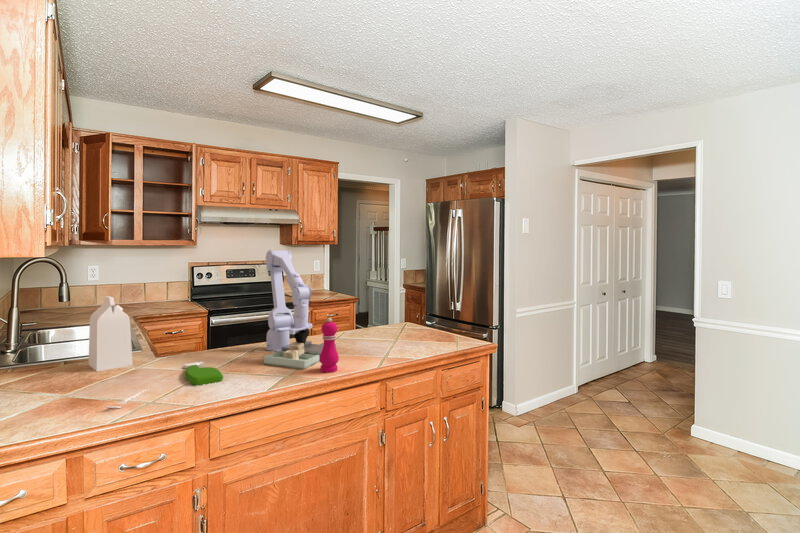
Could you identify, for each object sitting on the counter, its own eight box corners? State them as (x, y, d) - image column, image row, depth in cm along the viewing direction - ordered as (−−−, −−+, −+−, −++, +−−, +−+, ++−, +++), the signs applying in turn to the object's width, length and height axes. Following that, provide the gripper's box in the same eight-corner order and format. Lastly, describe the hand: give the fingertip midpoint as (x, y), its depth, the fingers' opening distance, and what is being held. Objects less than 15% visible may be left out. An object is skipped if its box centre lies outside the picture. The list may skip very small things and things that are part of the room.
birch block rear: (290, 355, 176) (289, 345, 175) (296, 351, 180) (295, 342, 179) (299, 356, 175) (298, 346, 174) (304, 352, 179) (303, 343, 178)
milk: (88, 364, 166) (86, 296, 165) (123, 358, 175) (121, 294, 173) (96, 371, 158) (95, 300, 157) (132, 365, 167) (131, 297, 165)
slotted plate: (281, 356, 183) (281, 347, 183) (299, 348, 196) (299, 340, 196) (319, 361, 177) (319, 351, 177) (335, 353, 190) (335, 344, 190)
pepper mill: (342, 370, 166) (343, 318, 165) (327, 374, 160) (327, 320, 159) (330, 366, 171) (331, 315, 169) (315, 370, 165) (315, 317, 164)
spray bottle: (192, 388, 144) (175, 370, 164) (226, 381, 151) (206, 365, 170) (191, 379, 144) (175, 362, 163) (226, 373, 151) (206, 358, 170)
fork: (155, 390, 143) (155, 384, 143) (114, 412, 123) (114, 406, 123) (145, 389, 143) (145, 384, 143) (103, 412, 123) (103, 405, 123)
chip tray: (264, 364, 172) (264, 356, 172) (281, 356, 182) (281, 349, 182) (304, 369, 166) (304, 361, 166) (319, 361, 177) (319, 353, 177)
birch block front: (290, 358, 177) (284, 362, 173) (289, 348, 176) (284, 352, 172) (299, 359, 175) (293, 363, 172) (298, 349, 175) (292, 353, 171)
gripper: (300, 319, 171) (299, 353, 172) (318, 313, 185) (318, 345, 186) (284, 317, 173) (284, 351, 174) (304, 312, 187) (303, 343, 188)
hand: (301, 348), depth 180 cm, fingers closed
